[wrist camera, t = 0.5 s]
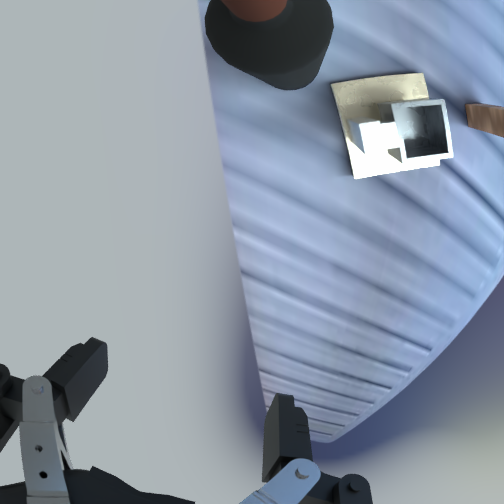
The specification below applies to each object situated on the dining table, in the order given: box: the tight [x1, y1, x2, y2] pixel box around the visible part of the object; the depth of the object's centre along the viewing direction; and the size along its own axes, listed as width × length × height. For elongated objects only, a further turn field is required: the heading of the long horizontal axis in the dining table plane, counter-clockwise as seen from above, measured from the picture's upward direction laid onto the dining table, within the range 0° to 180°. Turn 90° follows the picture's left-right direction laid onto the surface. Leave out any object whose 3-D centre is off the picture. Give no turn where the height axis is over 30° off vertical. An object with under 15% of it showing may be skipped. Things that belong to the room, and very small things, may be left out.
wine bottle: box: [205, 0, 334, 90], centre depth 16 cm, size 8×8×30 cm
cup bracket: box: [330, 73, 453, 179], centre depth 26 cm, size 12×12×10 cm
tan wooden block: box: [465, 104, 504, 137], centre depth 21 cm, size 3×3×12 cm
